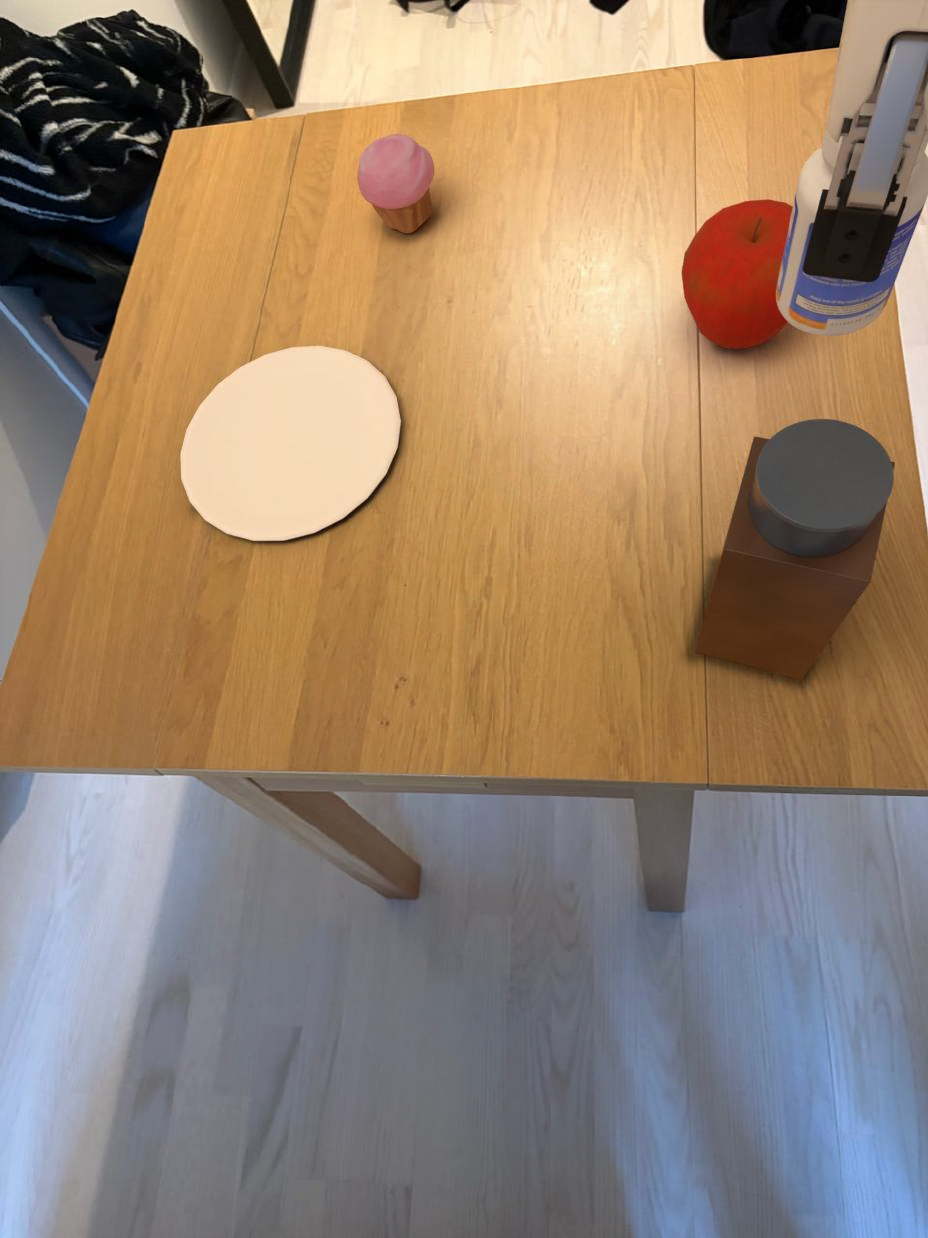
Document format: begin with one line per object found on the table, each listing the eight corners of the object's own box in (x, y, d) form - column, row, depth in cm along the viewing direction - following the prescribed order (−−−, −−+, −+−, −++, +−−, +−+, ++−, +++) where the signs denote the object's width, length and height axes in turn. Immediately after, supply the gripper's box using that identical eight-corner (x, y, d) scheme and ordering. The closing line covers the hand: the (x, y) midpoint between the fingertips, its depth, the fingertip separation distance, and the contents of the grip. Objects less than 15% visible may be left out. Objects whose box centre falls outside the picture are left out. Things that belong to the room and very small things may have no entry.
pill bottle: (908, 312, 40) (989, 128, 31) (808, 356, 40) (859, 185, 31) (847, 243, 42) (906, 53, 33) (753, 285, 42) (786, 107, 33)
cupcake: (457, 206, 96) (441, 128, 86) (417, 257, 94) (396, 183, 84) (399, 186, 99) (377, 109, 90) (359, 235, 97) (332, 161, 88)
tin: (884, 467, 52) (904, 431, 48) (862, 571, 49) (881, 541, 46) (761, 444, 54) (771, 408, 50) (734, 543, 52) (743, 512, 48)
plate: (369, 321, 91) (366, 313, 90) (431, 494, 81) (428, 488, 80) (168, 398, 92) (163, 391, 91) (204, 579, 82) (198, 574, 81)
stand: (822, 587, 70) (895, 461, 52) (801, 680, 67) (870, 582, 49) (719, 563, 73) (754, 435, 54) (694, 652, 70) (723, 549, 52)
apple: (745, 266, 85) (768, 145, 72) (825, 333, 80) (865, 216, 67) (651, 327, 84) (658, 215, 71) (726, 398, 79) (748, 292, 66)
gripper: (1191, -185, 16) (908, 385, 33) (1233, -550, 22) (971, 99, 38) (809, -171, 19) (724, 356, 35) (931, -504, 24) (807, 90, 40)
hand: (854, 219), depth 36 cm, fingers closed on pill bottle, 5 cm apart
